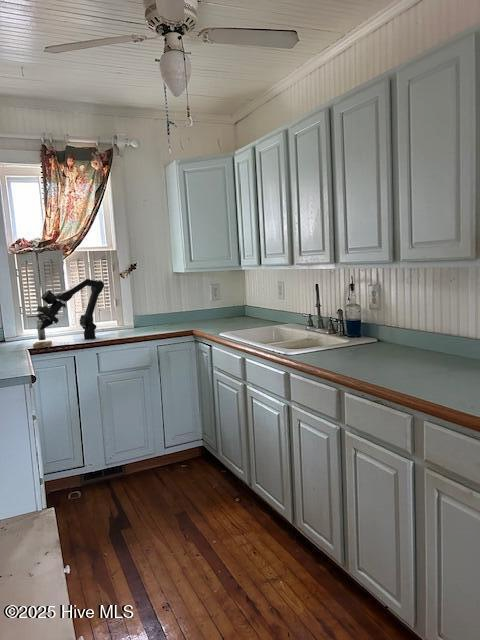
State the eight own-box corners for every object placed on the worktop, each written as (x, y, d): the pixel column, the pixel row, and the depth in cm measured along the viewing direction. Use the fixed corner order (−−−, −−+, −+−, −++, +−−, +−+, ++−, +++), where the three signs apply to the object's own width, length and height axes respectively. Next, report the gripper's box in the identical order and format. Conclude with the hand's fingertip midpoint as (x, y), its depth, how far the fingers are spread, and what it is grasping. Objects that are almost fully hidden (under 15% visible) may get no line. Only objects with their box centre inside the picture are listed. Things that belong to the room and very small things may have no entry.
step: (52, 344, 299) (51, 340, 299) (49, 347, 290) (48, 343, 290) (36, 345, 297) (36, 342, 297) (33, 348, 289) (32, 344, 288)
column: (45, 338, 296) (43, 319, 294) (46, 339, 292) (44, 320, 291) (38, 339, 294) (36, 320, 293) (38, 340, 291) (36, 321, 289)
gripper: (37, 300, 299) (21, 320, 293) (51, 301, 287) (35, 322, 280) (51, 311, 306) (35, 331, 300) (65, 312, 293) (49, 333, 287)
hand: (38, 329), depth 291 cm, fingers closed on column, 4 cm apart
